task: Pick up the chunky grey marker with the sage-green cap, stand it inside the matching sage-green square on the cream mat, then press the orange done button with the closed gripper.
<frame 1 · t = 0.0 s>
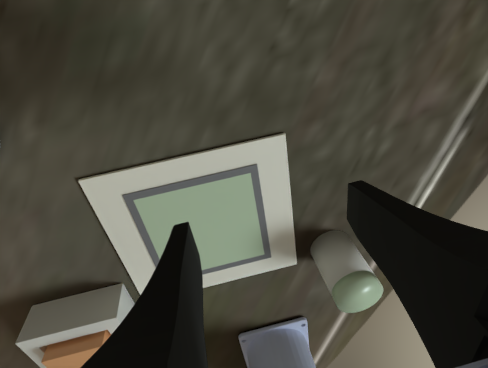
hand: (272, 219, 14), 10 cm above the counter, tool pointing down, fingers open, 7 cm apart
done button: (88, 354, 27), point 3 cm above the counter, slide at 0.0 cm
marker: (329, 246, 30), on the counter
picture board: (205, 227, 26), on the counter
button housing: (96, 320, 30), on the counter
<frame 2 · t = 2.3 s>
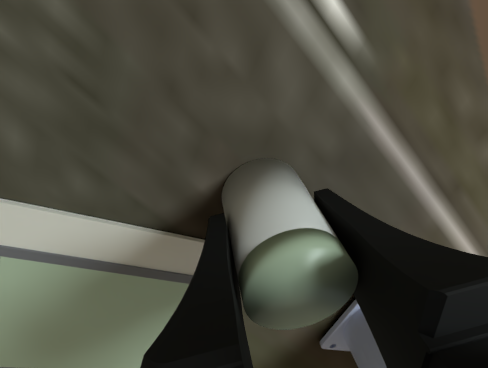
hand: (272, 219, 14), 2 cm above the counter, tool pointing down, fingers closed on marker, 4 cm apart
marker: (261, 194, 15), on the counter, touching gripper
picture board: (89, 320, 18), on the counter
when the fingers open (4 cm above the counter, at t = 6.4 s): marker drops 1 cm, resting on picture board.
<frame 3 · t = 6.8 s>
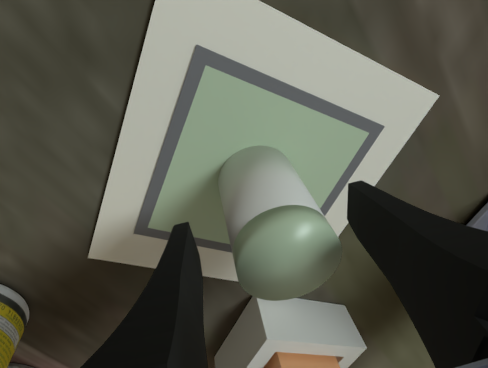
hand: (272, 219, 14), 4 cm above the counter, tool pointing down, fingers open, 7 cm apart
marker: (255, 180, 16), resting on picture board
picture board: (254, 177, 17), on the counter
button housing: (278, 331, 25), on the counter
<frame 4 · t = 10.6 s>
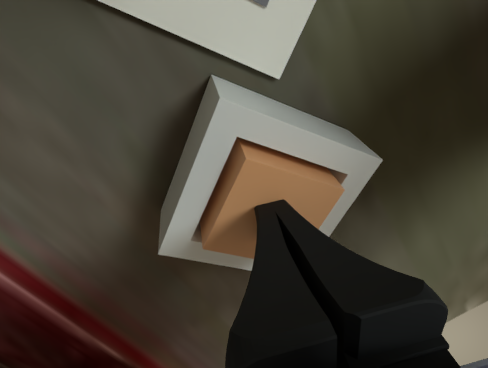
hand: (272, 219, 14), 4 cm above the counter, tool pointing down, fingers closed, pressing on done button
done button: (266, 204, 15), point 3 cm above the counter, slide at 0.2 cm, touching gripper
button housing: (252, 170, 17), on the counter
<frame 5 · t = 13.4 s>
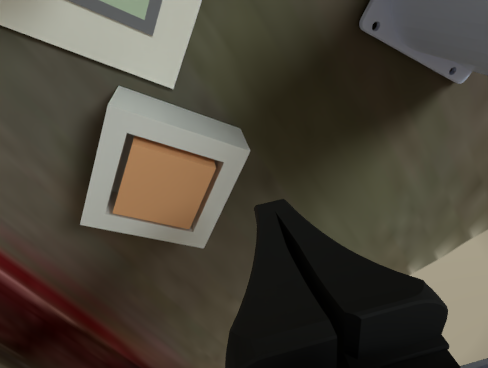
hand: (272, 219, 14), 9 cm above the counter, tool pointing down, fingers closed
done button: (164, 180, 20), point 3 cm above the counter, slide at 0.8 cm
button housing: (165, 161, 22), on the counter
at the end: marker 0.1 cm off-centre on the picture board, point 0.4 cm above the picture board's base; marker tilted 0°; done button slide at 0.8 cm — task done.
